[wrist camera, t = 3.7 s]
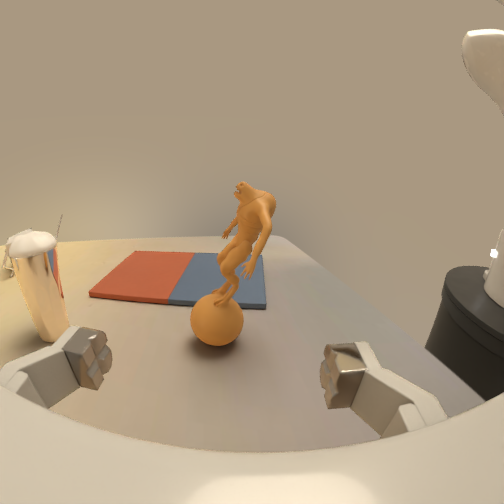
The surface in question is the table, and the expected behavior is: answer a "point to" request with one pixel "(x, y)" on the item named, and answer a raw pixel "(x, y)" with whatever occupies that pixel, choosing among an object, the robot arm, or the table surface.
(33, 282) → the milkshake
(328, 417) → the table surface
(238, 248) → the figurine
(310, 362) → the table surface
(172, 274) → the sorting board
